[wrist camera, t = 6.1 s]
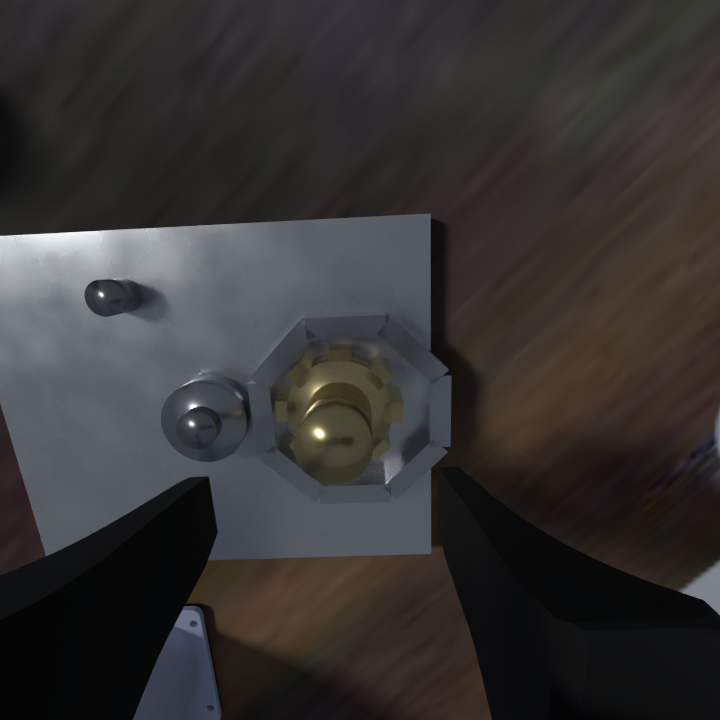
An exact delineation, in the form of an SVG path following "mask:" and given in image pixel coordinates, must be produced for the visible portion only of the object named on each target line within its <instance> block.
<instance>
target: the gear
mask: <svg viewBox="0 0 720 720" xmlns="http://www.w3.org/2000/svg"><path fill="white" fill-rule="evenodd" d="M286 376H287V377H288V378H289V379H290V380H291V381H292V382H293V383H294V385H293V387H292V389H291V391H290V392H285V391H282V392H281V393H280V395H279V397H278V398H277V400H276V401H275V403H276V421H288V423H289V426H290V429H291V431H292V433H293V436H292V438H291V440H290V443H289V445H288V446H289V447H290V448H291V449H292V450H293V451H294V454H295V458H296V460H297V463H298V464H299V466H300V467H301V469H302V470H303V471H304V472H305V473H306V474H307V475H308V476H310V477H311V478H313V479H315V480H317V481H320V482H323V483H327V484H341V483H346V482H349V481H351V480H353V479H355V478H357V477H358V476H360V475H361V474H362V473H363V472H364V471H365V470H366V468H367V467H368V465H369V463H370V461H371V458H374V459H375V460H377V459H379V458H380V457H381V456H382V455H383V454H384V453H386V452H387V451H388V450H389V449H390V448H391V444H390V437H389V434H388V431H389V429H390V426H391V423H401V424H403V413H404V402H403V398H402V395H401V394H396V393H390V390H389V387H388V384H387V383H388V382H389V381H390V380H391V379H392V378H394V377H393V373H392V369H391V368H390V367H389V366H388V365H387V364H386V363H385V362H384V361H383V360H382V359H381V358H380V357H379V356H378V355H377V356H376V357H375V358H374V359H373V360H372V361H371V362H368V361H366V360H364V359H362V358H360V357H357V356H354V355H352V344H331V345H330V348H329V355H328V356H324V357H321V358H319V359H317V360H315V361H314V362H313V361H312V360H311V359H310V358H309V357H308V356H307V355H306V354H305V355H304V356H303V357H302V358H300V359H299V360H298V361H297V362H296V363H295V364H294V365H293V366H292V367H291V369H290V370H289V372H288V373H287V374H286Z"/></svg>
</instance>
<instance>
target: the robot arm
mask: <svg viewBox="0 0 720 720" xmlns="http://www.w3.org/2000/svg"><path fill="white" fill-rule="evenodd" d="M438 525H439V530H440V535H441V540H442V545H443V549H444V554H445V558H446V561H447V564H448V567H449V570H450V573H451V576H452V579H453V582H454V585H455V588H456V591H457V594H458V597H459V600H460V602H461V605H462V608H463V611H464V614H465V617H466V620H467V623H468V626H469V629H470V632H471V636H472V639H473V642H474V646H475V649H476V654H477V658H478V662H479V666H480V670H481V674H482V678H483V682H484V687H485V691H486V695H487V700H488V704H489V708H490V713H491V717H492V720H720V615H718V613H717V612H716V611H714V609H712V608H711V607H710V606H709V605H708V604H707V603H706V602H705V601H704V600H701V599H698V598H695V597H692V596H689V595H686V594H683V593H680V592H677V591H674V590H672V589H669V588H666V587H663V586H660V585H657V584H654V583H651V582H648V581H646V580H643V579H640V578H638V577H635V576H633V575H631V574H628V573H626V572H623V571H621V570H618V569H616V568H613V567H611V566H609V565H607V564H604V563H602V562H600V561H598V560H596V559H593V558H591V557H589V556H587V555H585V554H583V553H581V552H579V551H577V550H575V549H573V548H571V547H569V546H568V545H566V544H564V543H562V542H560V541H558V540H557V539H555V538H553V537H552V536H550V535H548V534H546V533H545V532H543V531H541V530H540V529H538V528H536V527H535V526H533V525H532V524H530V523H529V522H527V521H526V520H524V519H523V518H521V517H520V516H519V515H517V514H516V513H514V512H513V511H512V510H510V509H509V508H507V507H506V506H505V505H503V504H502V503H501V502H500V501H498V500H497V499H496V498H494V497H493V496H492V495H491V494H490V493H488V492H487V491H486V490H485V489H483V488H482V487H481V486H480V485H479V484H478V483H476V482H475V481H474V480H473V479H472V478H471V477H470V476H468V475H467V474H466V473H465V472H464V471H463V470H461V469H460V468H459V467H448V468H439V509H438ZM217 534H218V530H217V524H216V517H215V511H214V505H213V499H212V493H211V486H210V480H209V476H204V477H189V478H187V479H185V480H183V481H181V482H179V483H177V484H175V485H174V486H172V487H170V488H169V489H167V490H165V491H164V492H162V493H160V494H159V495H157V496H156V497H154V498H152V499H151V500H149V501H147V502H146V503H144V504H142V505H141V506H139V507H138V508H136V509H134V510H133V511H131V512H129V513H128V514H126V515H124V516H122V517H121V518H119V519H117V520H115V521H114V522H112V523H110V524H108V525H107V526H105V527H103V528H101V529H100V530H98V531H96V532H94V533H92V534H91V535H89V536H87V537H85V538H83V539H81V540H79V541H77V542H75V543H73V544H71V545H69V546H67V547H65V548H63V549H61V550H59V551H57V552H55V553H52V554H50V555H48V556H46V557H44V558H41V559H39V560H37V561H34V562H32V563H30V564H27V565H25V566H22V567H20V568H18V569H15V570H13V571H11V572H8V573H6V574H4V575H1V576H0V720H220V719H221V715H222V712H221V707H220V701H219V696H218V691H217V685H216V680H215V675H214V669H213V664H212V659H211V653H210V648H209V643H208V637H207V632H206V626H205V621H204V616H203V611H202V609H201V608H199V607H197V606H185V604H186V602H187V600H188V599H189V597H190V595H191V593H192V591H193V589H194V587H195V585H196V583H197V581H198V579H199V577H200V576H201V574H202V572H203V570H204V568H205V566H206V564H207V561H208V558H209V556H210V553H211V551H212V548H213V545H214V542H215V539H216V537H217Z"/></svg>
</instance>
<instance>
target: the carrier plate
mask: <svg viewBox="0 0 720 720" xmlns="http://www.w3.org/2000/svg"><path fill="white" fill-rule="evenodd" d="M331 344H352V355H354V356H357V357H360V358H362V359H364V360H366V361H368V362H371V361H372V360H373V359H374V358H375V357H376V356H377V355H378V356H379V357H380V358H381V359H382V360H383V361H384V362H385V363H386V364H387V365H388V366H389V367H390V368H391V369H392V373H393V377H394V378H392V379H391V380H390V381H389V382H388V383H387V384H388V387H389V390H390V393H396V394H401V395H402V398H403V402H404V413H403V424H401V423H391V426H390V429H389V431H388V434H389V437H390V444H391V448H390V449H389V450H388V451H387V452H386V453H384V454H383V455H382V456H381V457H380V458H379V459H377V460H375V459H374V458H371V461H370V463H369V465H368V467H367V468H366V470H365V471H364V472H363V473H362V474H361V475H360V476H358V477H357V478H355V479H353V480H351V481H349V482H346V483H341V484H327V483H323V482H320V481H317V480H315V479H313V478H311V477H310V476H308V475H307V474H306V473H305V472H304V471H303V470H302V469H301V467H300V466H299V464H298V463H297V460H296V458H295V454H294V451H293V450H292V449H291V448H290V447H289V446H288V445H289V443H290V440H291V438H292V436H293V433H292V431H291V429H290V426H289V423H288V421H276V403H275V401H276V400H277V398H278V397H279V395H280V393H281V392H282V391H285V392H290V391H291V389H292V387H293V385H294V383H293V382H292V381H291V380H290V379H289V378H288V377H287V376H286V374H287V373H288V372H289V370H290V369H291V367H292V366H293V365H294V364H295V363H296V362H297V361H298V360H299V359H300V358H302V357H303V356H304V355H305V354H306V355H307V356H308V357H309V358H310V359H311V360H312V361H313V362H314V361H315V360H317V359H319V358H321V357H324V356H328V355H329V348H330V345H331ZM448 370H449V369H448V368H447V367H446V365H445V364H444V363H443V362H442V361H441V360H440V359H439V358H438V357H437V356H436V355H435V354H434V353H432V352H431V214H415V215H396V216H377V217H358V218H339V219H319V220H300V221H281V222H262V223H243V224H224V225H205V226H186V227H166V228H147V229H128V230H109V231H90V232H71V233H52V234H32V235H13V236H0V403H1V407H2V410H3V413H4V417H5V420H6V423H7V427H8V430H9V433H10V437H11V440H12V443H13V447H14V450H15V453H16V457H17V460H18V463H19V467H20V470H21V473H22V477H23V480H24V483H25V487H26V490H27V493H28V497H29V500H30V503H31V507H32V510H33V513H34V517H35V520H36V523H37V527H38V530H39V533H40V537H41V540H42V543H43V547H44V550H45V553H46V556H48V555H50V554H52V553H55V552H57V551H59V550H61V549H63V548H65V547H67V546H69V545H71V544H73V543H75V542H77V541H79V540H81V539H83V538H85V537H87V536H89V535H91V534H92V533H94V532H96V531H98V530H100V529H101V528H103V527H105V526H107V525H108V524H110V523H112V522H114V521H115V520H117V519H119V518H121V517H122V516H124V515H126V514H128V513H129V512H131V511H133V510H134V509H136V508H138V507H139V506H141V505H142V504H144V503H146V502H147V501H149V500H151V499H152V498H154V497H156V496H157V495H159V494H160V493H162V492H164V491H165V490H167V489H169V488H170V487H172V486H174V485H175V484H177V483H179V482H181V481H183V480H185V479H187V478H189V477H204V476H209V480H210V486H211V493H212V499H213V505H214V511H215V517H216V524H217V530H218V534H217V537H216V539H215V542H214V545H213V548H212V551H211V553H210V556H209V558H208V560H231V559H265V558H299V557H333V556H367V555H402V554H431V467H433V466H434V465H435V464H436V463H437V462H438V461H439V460H440V459H441V458H442V457H443V456H444V455H445V454H446V453H448V451H447V448H446V447H451V374H450V373H449V372H448Z"/></svg>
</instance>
